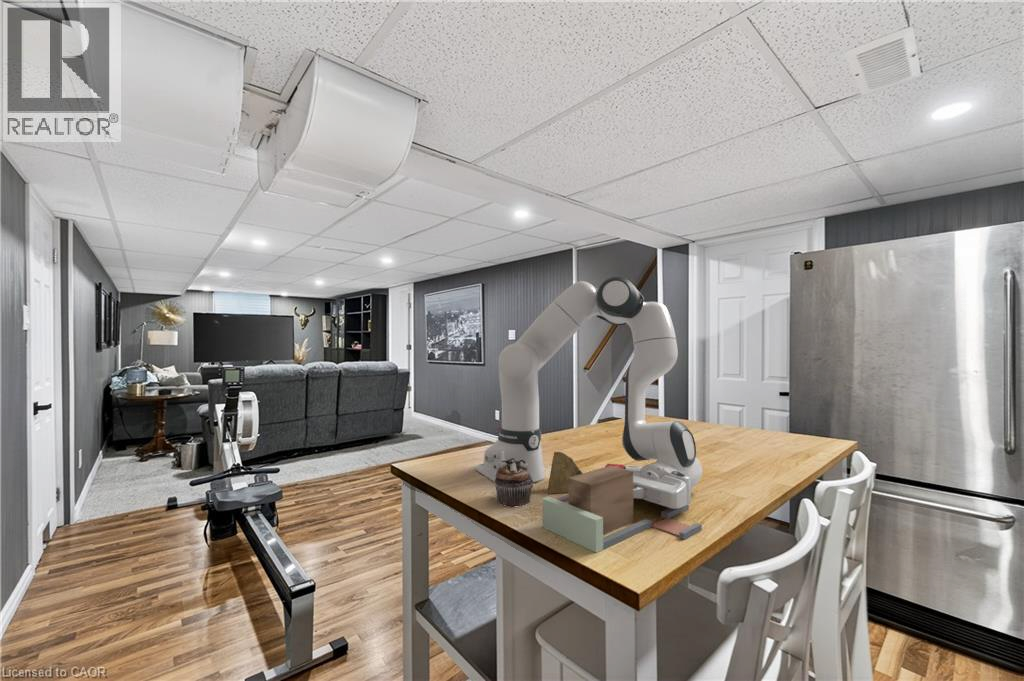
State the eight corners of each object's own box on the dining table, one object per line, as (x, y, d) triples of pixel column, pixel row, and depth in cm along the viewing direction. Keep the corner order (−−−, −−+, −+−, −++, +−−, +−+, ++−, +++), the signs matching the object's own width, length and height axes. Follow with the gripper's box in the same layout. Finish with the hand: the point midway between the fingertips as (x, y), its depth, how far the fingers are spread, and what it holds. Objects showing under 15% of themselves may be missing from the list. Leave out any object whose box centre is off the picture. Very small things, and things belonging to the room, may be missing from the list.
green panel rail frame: (519, 516, 96) (519, 489, 96) (612, 485, 117) (612, 463, 117) (630, 569, 73) (630, 534, 73) (721, 519, 94) (720, 492, 94)
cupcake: (486, 503, 104) (486, 462, 104) (508, 491, 112) (508, 453, 112) (519, 511, 99) (519, 468, 99) (540, 498, 107) (540, 458, 107)
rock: (589, 475, 119) (554, 467, 121) (591, 455, 113) (554, 448, 116) (583, 510, 110) (545, 501, 113) (585, 490, 105) (545, 482, 108)
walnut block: (568, 530, 89) (568, 477, 89) (611, 513, 98) (610, 465, 98) (590, 541, 84) (590, 484, 84) (633, 522, 93) (633, 471, 93)
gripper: (621, 459, 113) (586, 469, 104) (696, 478, 97) (662, 491, 88) (621, 483, 112) (586, 495, 104) (696, 506, 97) (662, 522, 88)
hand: (622, 494), depth 96 cm, fingers closed
